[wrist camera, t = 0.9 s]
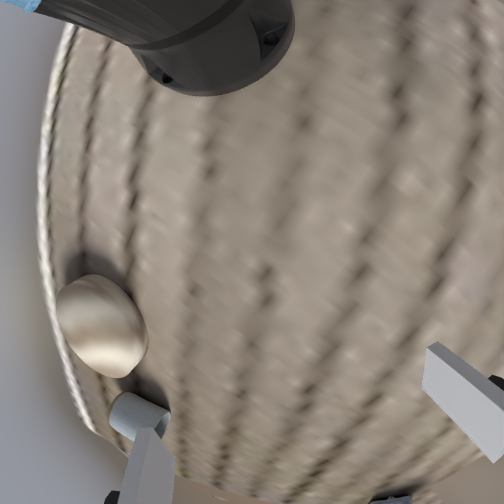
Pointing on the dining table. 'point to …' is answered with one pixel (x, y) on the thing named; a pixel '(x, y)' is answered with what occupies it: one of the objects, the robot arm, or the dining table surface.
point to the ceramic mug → (136, 415)
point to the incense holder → (395, 500)
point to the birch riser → (102, 325)
